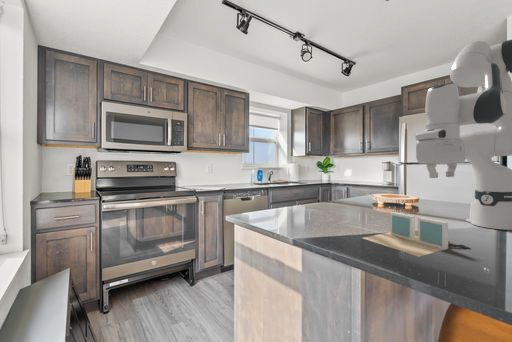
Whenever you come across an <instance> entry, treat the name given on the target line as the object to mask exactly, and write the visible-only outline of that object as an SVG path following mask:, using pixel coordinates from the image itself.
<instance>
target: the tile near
mask: <svg viewBox="0 0 512 342" xmlns="http://www.w3.org/2000/svg"><path fill="white" fill-rule="evenodd" d="M417 236H418V242H420V243H423V244H427V245H431V246H434V247H438V248H442V249H445V250H448V241H449V222H448V221H443V220H439V219H438V220H437V219H434V218H433V219H431V218H426V217H422V216H421V217H417Z"/></svg>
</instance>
